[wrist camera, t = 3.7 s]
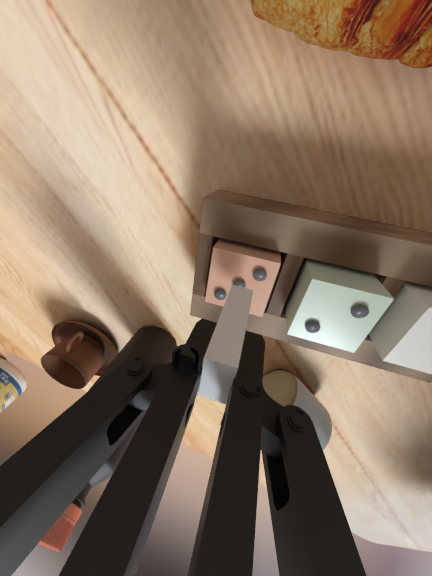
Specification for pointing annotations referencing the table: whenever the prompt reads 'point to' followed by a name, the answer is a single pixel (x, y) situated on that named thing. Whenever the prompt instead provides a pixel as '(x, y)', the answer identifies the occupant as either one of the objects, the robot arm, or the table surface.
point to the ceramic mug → (298, 400)
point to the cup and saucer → (78, 354)
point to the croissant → (358, 26)
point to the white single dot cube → (406, 329)
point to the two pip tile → (335, 305)
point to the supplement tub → (10, 383)
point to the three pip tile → (242, 272)
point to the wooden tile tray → (312, 245)
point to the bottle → (158, 351)
